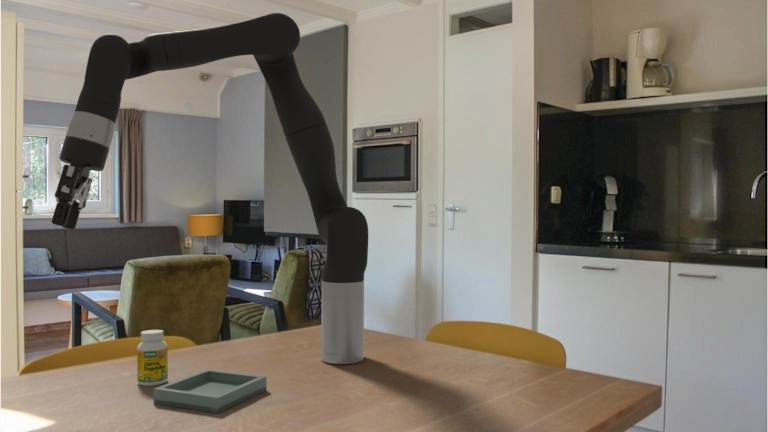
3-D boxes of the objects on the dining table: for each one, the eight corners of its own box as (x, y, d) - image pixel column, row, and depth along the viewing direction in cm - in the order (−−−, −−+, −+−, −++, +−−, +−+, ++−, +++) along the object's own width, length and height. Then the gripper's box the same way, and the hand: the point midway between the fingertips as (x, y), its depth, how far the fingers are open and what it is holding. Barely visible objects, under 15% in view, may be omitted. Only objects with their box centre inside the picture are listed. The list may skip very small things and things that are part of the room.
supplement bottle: (163, 377, 120) (163, 327, 120) (170, 383, 116) (171, 332, 116) (134, 381, 117) (134, 330, 117) (140, 388, 113) (140, 335, 113)
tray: (207, 382, 117) (207, 369, 117) (266, 390, 112) (266, 376, 112) (153, 403, 104) (153, 388, 104) (217, 413, 99) (217, 397, 99)
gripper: (104, 138, 108) (78, 229, 106) (114, 153, 122) (92, 234, 119) (57, 127, 106) (30, 219, 104) (73, 143, 120) (50, 225, 117)
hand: (63, 227), depth 111 cm, fingers open, 8 cm apart
